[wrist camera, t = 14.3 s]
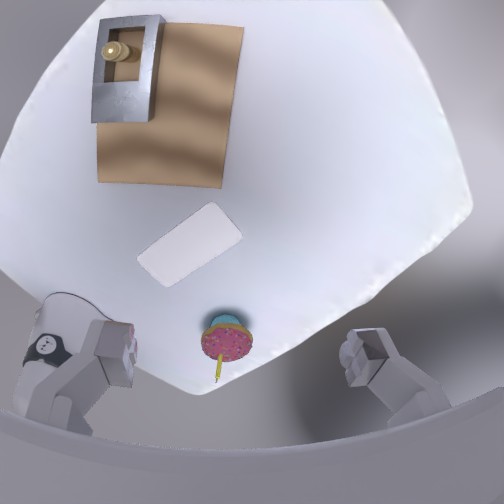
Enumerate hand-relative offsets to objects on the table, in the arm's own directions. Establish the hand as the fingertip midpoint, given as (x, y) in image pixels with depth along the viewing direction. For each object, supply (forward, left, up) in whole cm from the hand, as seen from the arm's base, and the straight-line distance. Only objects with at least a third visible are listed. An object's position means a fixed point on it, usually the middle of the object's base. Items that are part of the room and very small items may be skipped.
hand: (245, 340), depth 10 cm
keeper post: (+11, +12, -28) cm, 32 cm away
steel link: (+9, +12, -28) cm, 31 cm away
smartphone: (-15, +4, -30) cm, 34 cm away
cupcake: (-30, -3, -29) cm, 42 cm away
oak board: (+5, +8, -29) cm, 31 cm away
